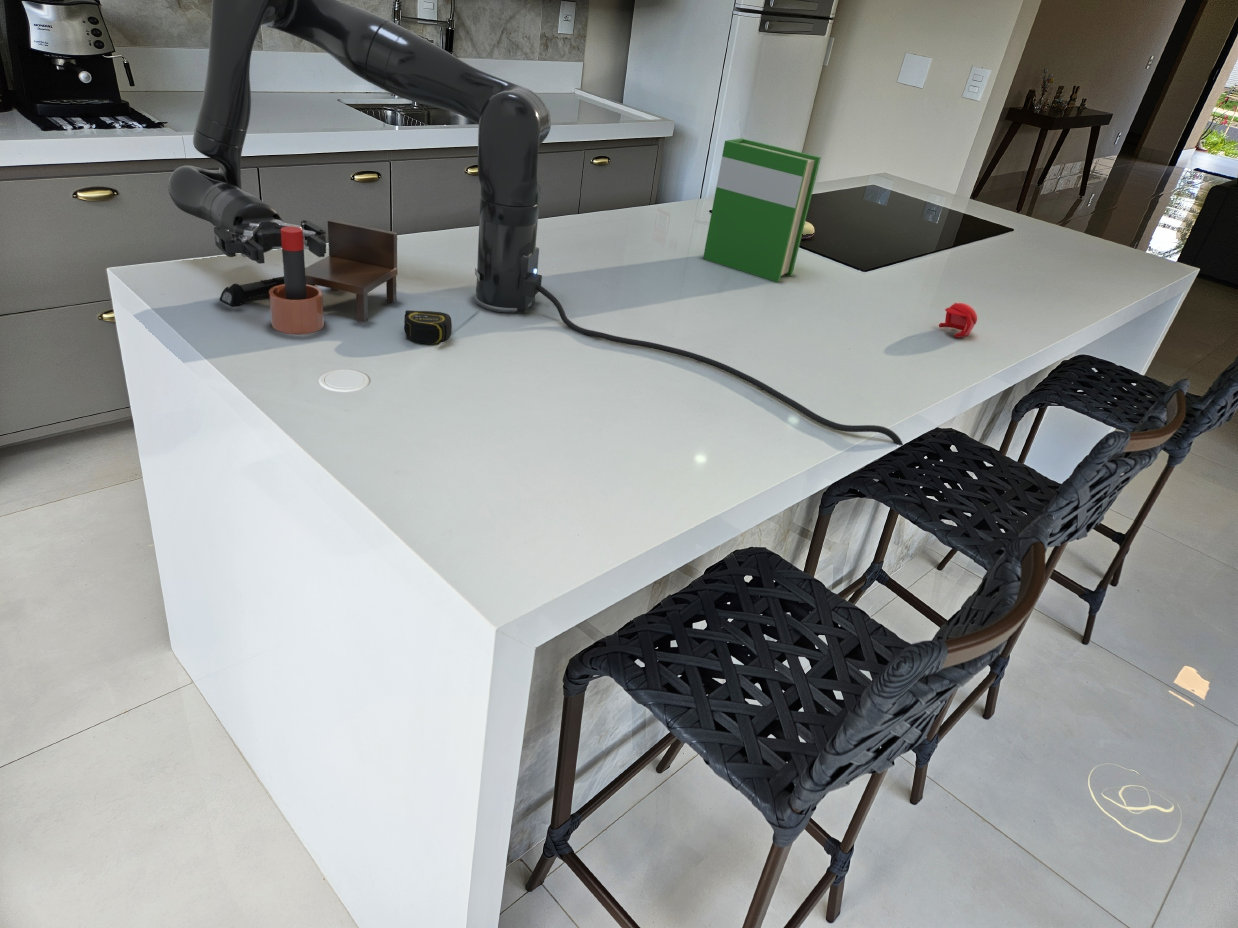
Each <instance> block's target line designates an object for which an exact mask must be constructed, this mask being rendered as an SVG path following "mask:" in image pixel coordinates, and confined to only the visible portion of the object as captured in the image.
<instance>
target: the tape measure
mask: <svg viewBox="0 0 1238 928" xmlns="http://www.w3.org/2000/svg"><path fill="white" fill-rule="evenodd" d="M404 313H405V314H404V318H403V319H404V320H403V322H404V324H403V325H404V326H403V329H404V330H403V331H404V334H405V336H406V338H407V339H409V340H410V341H411V342H415V343H418V344H425V345H436V344H443V343H445V342H447V341H449V339H450V338H451V337H452V330H453V323H452V317H451V316H450V314H448V313H445V312H441V311H431V310H405V312H404Z"/></svg>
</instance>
